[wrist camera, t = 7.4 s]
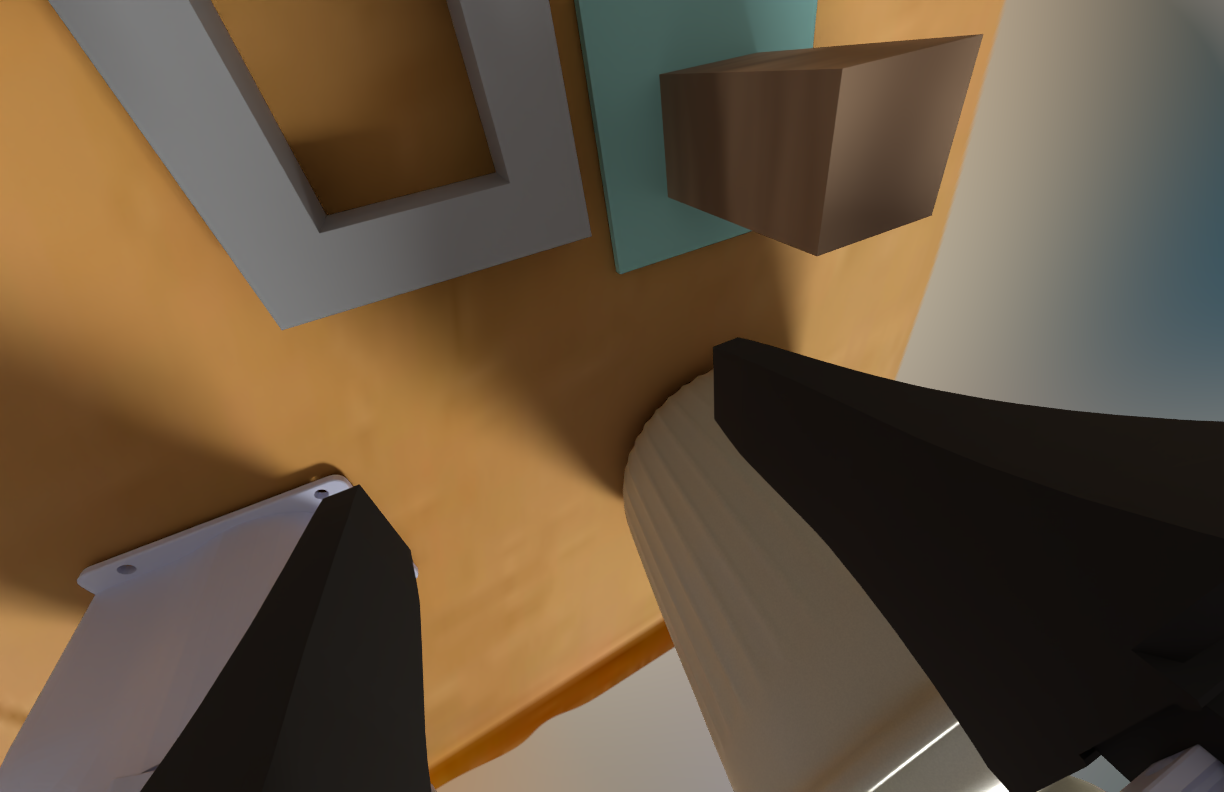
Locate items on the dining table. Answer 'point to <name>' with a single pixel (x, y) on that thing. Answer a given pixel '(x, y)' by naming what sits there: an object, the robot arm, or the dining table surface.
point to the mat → (632, 113)
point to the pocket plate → (278, 189)
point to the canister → (782, 628)
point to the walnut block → (817, 137)
